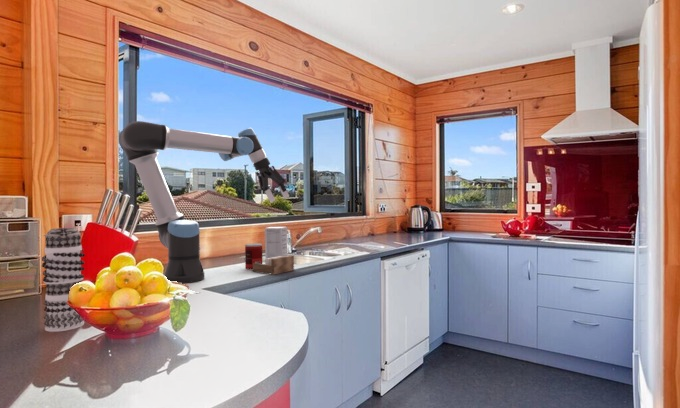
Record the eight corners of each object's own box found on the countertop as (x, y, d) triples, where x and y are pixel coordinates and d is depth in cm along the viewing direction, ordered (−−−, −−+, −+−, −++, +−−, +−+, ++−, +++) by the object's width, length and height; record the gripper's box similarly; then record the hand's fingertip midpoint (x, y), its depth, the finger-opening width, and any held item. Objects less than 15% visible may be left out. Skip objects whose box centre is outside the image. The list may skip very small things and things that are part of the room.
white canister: (288, 257, 219) (287, 226, 219) (282, 260, 210) (282, 227, 209) (271, 257, 221) (270, 226, 220) (264, 260, 212) (264, 227, 211)
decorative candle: (94, 321, 108) (92, 227, 108) (69, 332, 99) (67, 230, 98) (61, 320, 109) (60, 227, 108) (33, 332, 99) (31, 230, 99)
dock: (274, 274, 172) (273, 259, 171) (252, 271, 179) (252, 256, 179) (293, 270, 182) (293, 255, 182) (272, 267, 189) (272, 253, 189)
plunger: (268, 272, 176) (268, 258, 176) (264, 271, 177) (264, 258, 177) (283, 268, 183) (282, 256, 183) (279, 268, 184) (279, 255, 184)
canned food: (264, 266, 191) (264, 243, 191) (259, 269, 183) (259, 245, 183) (248, 266, 192) (248, 243, 192) (243, 269, 184) (242, 245, 184)
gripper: (278, 151, 185) (299, 192, 189) (254, 162, 204) (273, 200, 208) (266, 157, 180) (287, 199, 184) (242, 168, 200) (261, 206, 204)
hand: (279, 199), depth 196 cm, fingers open, 13 cm apart
